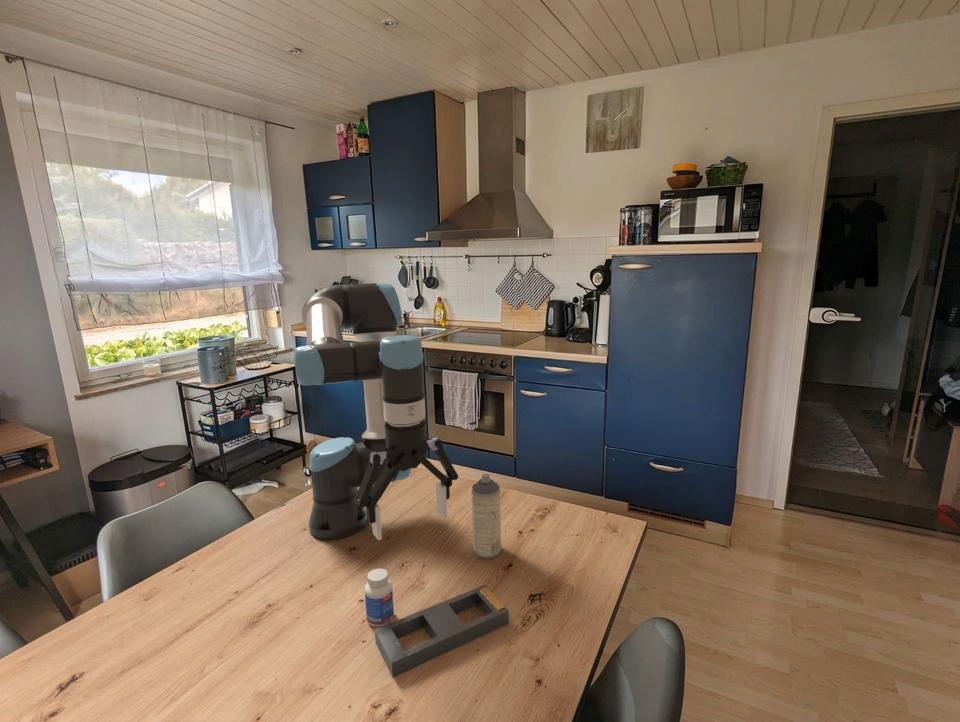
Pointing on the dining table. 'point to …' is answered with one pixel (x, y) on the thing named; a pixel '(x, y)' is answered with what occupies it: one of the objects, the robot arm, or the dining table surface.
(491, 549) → the aerosol can
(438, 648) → the grey bottle holder tray
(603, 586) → the dining table surface
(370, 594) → the pill bottle
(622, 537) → the dining table surface
